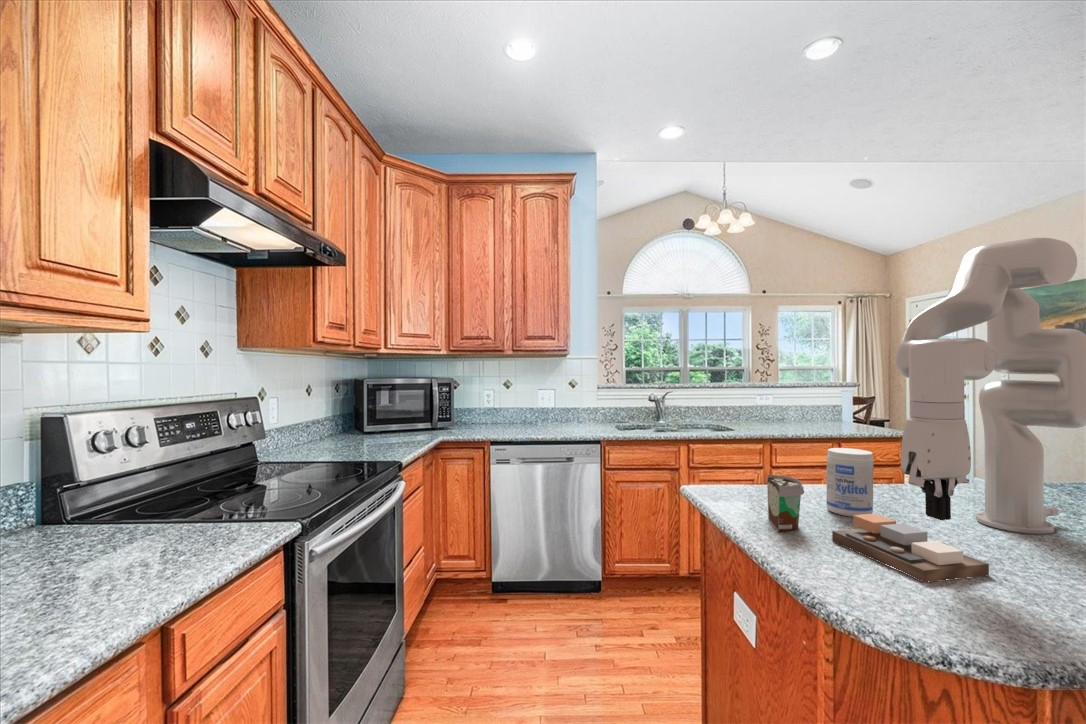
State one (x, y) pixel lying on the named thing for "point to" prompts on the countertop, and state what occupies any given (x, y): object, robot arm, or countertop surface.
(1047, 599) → the countertop surface
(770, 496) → the food container
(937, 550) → the cream key
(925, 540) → the grey key
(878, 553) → the keypad board
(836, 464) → the supplement tub
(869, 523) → the terracotta key
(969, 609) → the countertop surface
